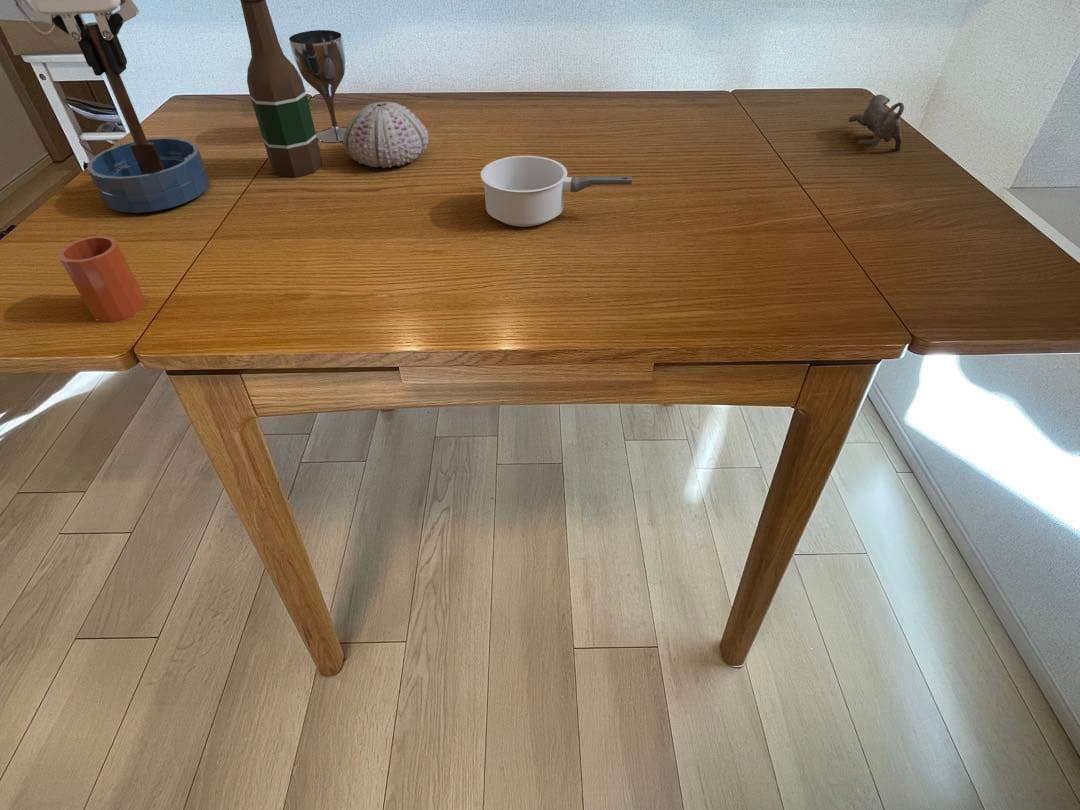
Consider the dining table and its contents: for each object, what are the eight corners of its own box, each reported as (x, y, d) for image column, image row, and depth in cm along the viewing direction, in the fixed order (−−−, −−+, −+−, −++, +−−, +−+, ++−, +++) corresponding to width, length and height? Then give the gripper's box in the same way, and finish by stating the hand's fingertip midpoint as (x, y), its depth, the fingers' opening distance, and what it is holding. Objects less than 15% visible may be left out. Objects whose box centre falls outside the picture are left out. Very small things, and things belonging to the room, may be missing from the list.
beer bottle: (274, 159, 104) (223, -17, 88) (324, 155, 105) (283, -20, 89) (269, 180, 98) (213, -4, 82) (322, 175, 99) (277, -8, 83)
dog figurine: (905, 155, 103) (923, 106, 98) (868, 155, 103) (885, 106, 98) (877, 127, 112) (893, 80, 107) (843, 127, 112) (857, 80, 107)
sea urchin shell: (372, 181, 98) (362, 127, 92) (331, 154, 105) (320, 102, 100) (447, 158, 104) (441, 105, 98) (403, 134, 111) (395, 84, 106)
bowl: (91, 220, 89) (71, 181, 86) (123, 177, 100) (107, 140, 96) (199, 212, 91) (184, 174, 87) (220, 170, 101) (207, 134, 97)
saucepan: (626, 238, 84) (630, 197, 81) (475, 229, 86) (472, 189, 83) (630, 199, 93) (633, 160, 89) (492, 191, 95) (489, 153, 91)
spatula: (143, 181, 95) (76, 26, 81) (146, 176, 96) (81, 22, 82) (165, 179, 95) (101, 24, 81) (168, 175, 96) (106, 21, 83)
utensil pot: (88, 328, 71) (49, 264, 66) (104, 300, 75) (70, 237, 70) (140, 324, 72) (106, 259, 66) (154, 296, 76) (123, 233, 70)
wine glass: (304, 141, 109) (279, 42, 99) (326, 124, 115) (304, 28, 105) (347, 145, 108) (326, 45, 98) (368, 127, 114) (350, 31, 103)
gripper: (-56, -100, 70) (35, 84, 82) (100, -104, 71) (166, 77, 84) (-23, -107, 75) (59, 66, 88) (121, -110, 77) (181, 60, 89)
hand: (111, 71), depth 86 cm, fingers closed on spatula, 1 cm apart
